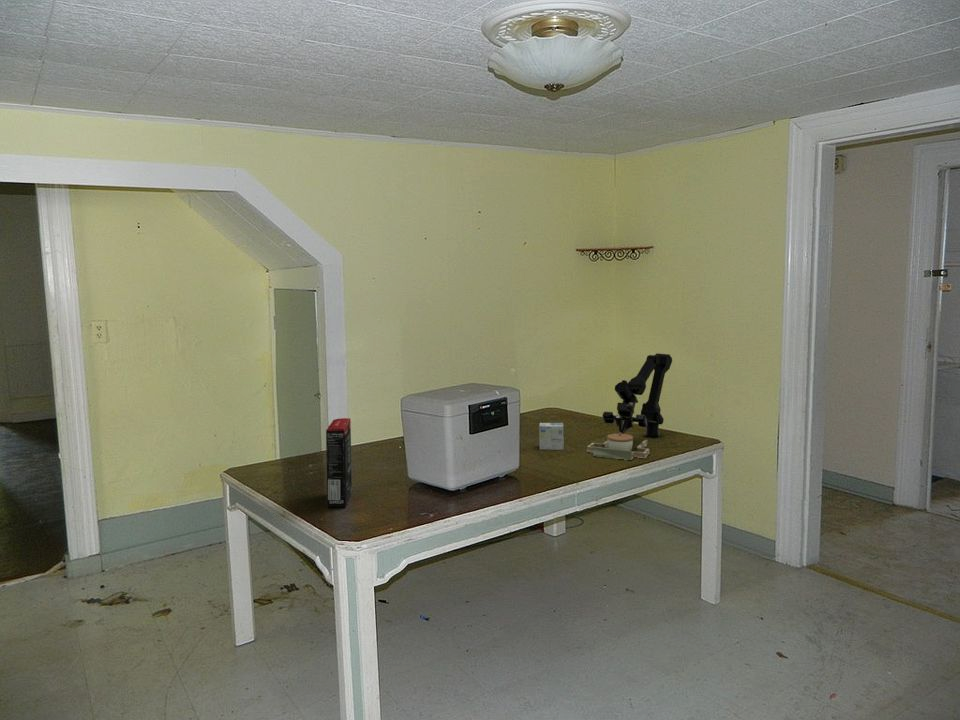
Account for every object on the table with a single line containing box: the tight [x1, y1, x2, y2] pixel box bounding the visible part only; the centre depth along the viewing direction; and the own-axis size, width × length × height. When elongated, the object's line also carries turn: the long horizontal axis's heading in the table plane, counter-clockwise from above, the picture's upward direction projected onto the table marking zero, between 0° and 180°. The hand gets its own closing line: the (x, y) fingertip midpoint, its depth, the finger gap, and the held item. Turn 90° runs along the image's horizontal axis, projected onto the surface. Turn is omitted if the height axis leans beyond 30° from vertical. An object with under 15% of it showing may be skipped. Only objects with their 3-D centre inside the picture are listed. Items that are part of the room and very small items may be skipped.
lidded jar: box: [606, 431, 634, 451], centre depth 300 cm, size 11×11×9 cm
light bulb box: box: [538, 422, 565, 451], centre depth 311 cm, size 11×7×11 cm, turn 84°
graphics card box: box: [325, 417, 353, 508], centre depth 243 cm, size 17×7×27 cm, turn 4°
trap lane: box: [586, 439, 651, 461], centre depth 306 cm, size 28×25×4 cm
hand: (620, 435), depth 305 cm, fingers closed
